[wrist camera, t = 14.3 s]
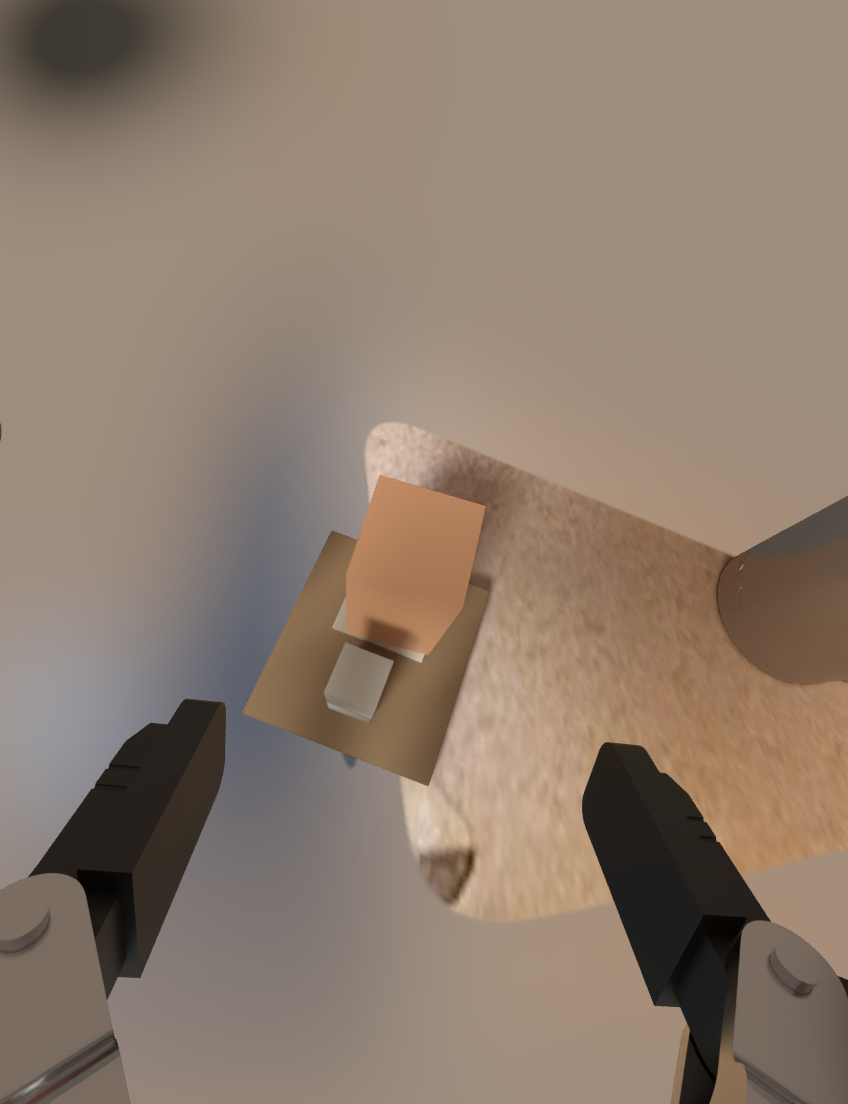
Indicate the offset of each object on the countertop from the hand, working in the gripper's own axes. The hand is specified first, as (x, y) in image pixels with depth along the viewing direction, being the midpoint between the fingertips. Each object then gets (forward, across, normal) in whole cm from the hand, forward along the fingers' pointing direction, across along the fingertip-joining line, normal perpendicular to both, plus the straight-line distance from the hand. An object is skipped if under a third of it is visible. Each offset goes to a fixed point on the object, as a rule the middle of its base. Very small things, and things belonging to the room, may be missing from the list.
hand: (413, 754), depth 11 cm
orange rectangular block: (+17, 0, +5) cm, 18 cm away
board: (+16, +1, +8) cm, 18 cm away
